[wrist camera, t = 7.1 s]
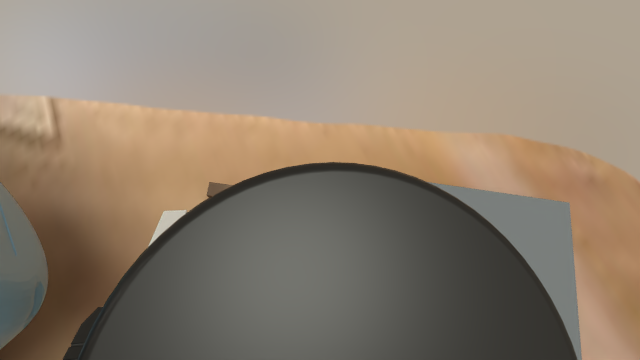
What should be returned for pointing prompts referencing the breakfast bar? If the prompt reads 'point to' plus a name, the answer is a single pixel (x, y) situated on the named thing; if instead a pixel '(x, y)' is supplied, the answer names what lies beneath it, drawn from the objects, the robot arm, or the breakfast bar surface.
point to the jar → (330, 278)
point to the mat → (535, 243)
